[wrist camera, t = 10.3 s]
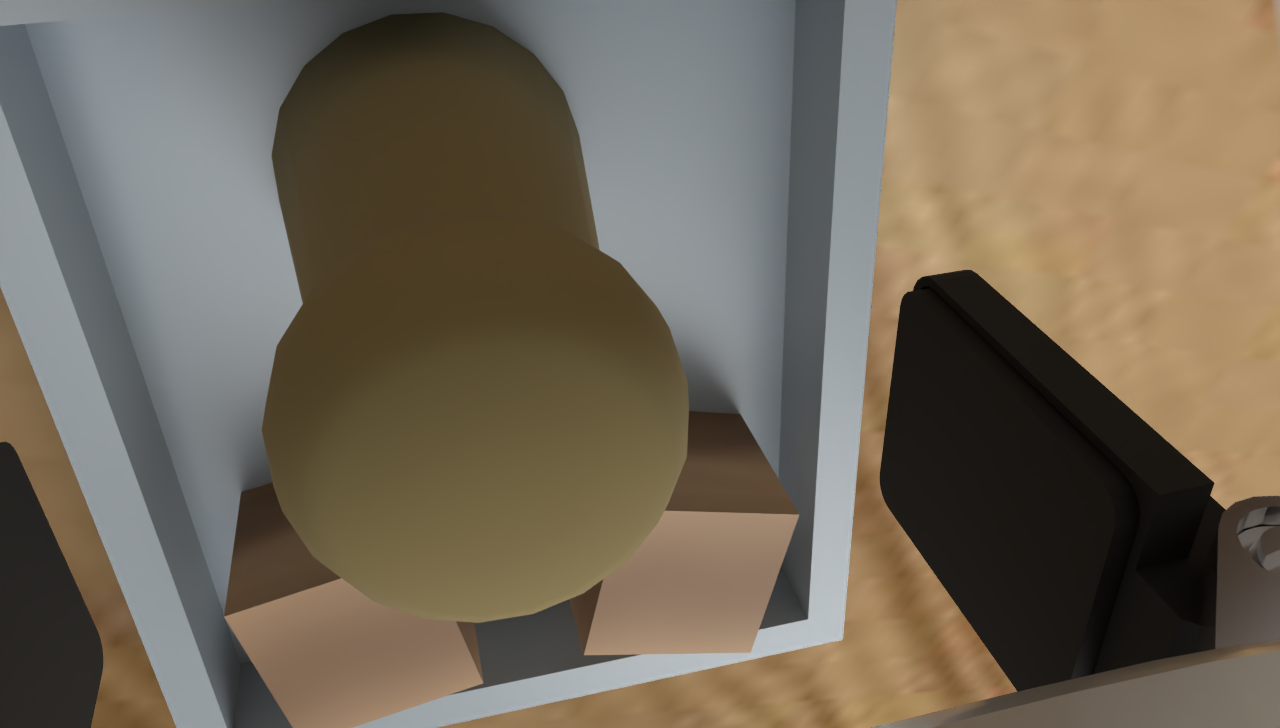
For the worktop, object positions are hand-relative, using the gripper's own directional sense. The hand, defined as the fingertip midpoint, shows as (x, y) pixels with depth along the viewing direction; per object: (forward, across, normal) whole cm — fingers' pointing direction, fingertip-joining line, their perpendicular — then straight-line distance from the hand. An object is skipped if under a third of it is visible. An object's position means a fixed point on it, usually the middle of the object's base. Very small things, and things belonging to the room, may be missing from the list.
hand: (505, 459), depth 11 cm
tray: (+12, -1, +5) cm, 13 cm away
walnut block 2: (+11, -4, +10) cm, 15 cm away
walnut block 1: (+11, +3, +10) cm, 15 cm away
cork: (+11, 0, +1) cm, 11 cm away
